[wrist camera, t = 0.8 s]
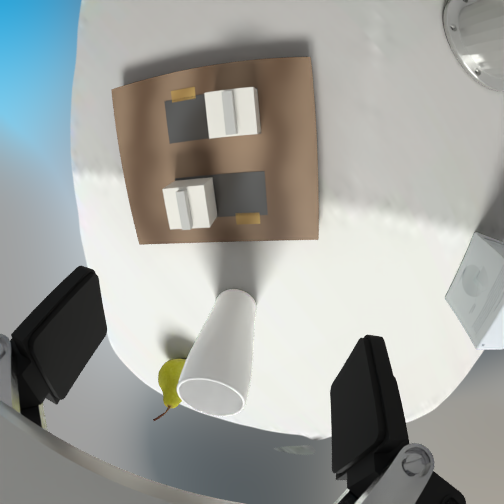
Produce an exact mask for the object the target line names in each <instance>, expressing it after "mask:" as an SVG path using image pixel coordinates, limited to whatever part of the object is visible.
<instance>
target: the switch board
mask: <svg viewBox="0 0 504 504" xmlns="http://www.w3.org/2000/svg"><path fill="white" fill-rule="evenodd" d="M246 87H254V88H256V89H257V93H258V104H259V115H260V126H261V132H260V133H258V134H253V135H240V136H229V137H220V138H211V139H209V132H208V123H207V114H206V104H205V95H204V93H206V92H213V91H220V90H228V89H236V88H246ZM112 99H113V108H114V116H115V123H116V131H117V137H118V144H119V150H120V156H121V162H122V168H123V173H124V178H125V183H126V188H127V193H128V198H129V203H130V207H131V212H132V216H133V220H134V224H135V229H136V233H137V237H138V241H139V244H168V243H199V242H234V241H273V240H318V235H319V203H318V158H317V135H316V117H315V102H314V89H313V77H312V66H311V57H287V58H269V59H257V60H247V61H238V62H230V63H223V64H216V65H210V66H204V67H198V68H193V69H188V70H183V71H178V72H173V73H169V74H165V75H161V76H157V77H153V78H149V79H145V80H142V81H138V82H134V83H131V84H128V85H124V86H121V87H118V88H115V89H112ZM210 177H212V178H213V186H214V194H215V201H216V209H217V218H216V219H215V221H214V222H213V224H212V225H211V227H210V228H191V230H182V229H170V227H169V222H168V217H167V211H166V206H165V201H164V195H163V190H162V189H163V188H165V187H166V186H168V185H169V184H171V183H172V182H174V181H179V180H189V179H199V178H210Z"/></svg>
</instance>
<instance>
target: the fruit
mask: <svg viewBox="0 0 504 504" xmlns="http://www.w3.org/2000/svg"><path fill="white" fill-rule="evenodd" d="M185 361H186V359H172V360H169V361H167V362H166V363H165V364H164V365H163V366H162V368H161V369H160V371H159V375H158V382H159V386H160V387H161V389H162V391H163V401H164V404H165V406H167V407H168V409H167V410H166V412H167V411H168V410H169V409H170V408H175V407H177V406H178V405H179V403H180V402H181V401H182V400H181V399H180V397H179V396H178V394H177V384H178V381H179V378H180V375H181V372H182V369H183V366H184V364H185ZM166 412H165V413H166ZM165 413H163V414H161V415H160V416H158V417H157V418H155V419H153V420H154V421H155V420H157V419H159V418H160V417H161V416H163V415H164V414H165Z"/></svg>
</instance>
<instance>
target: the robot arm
mask: <svg viewBox="0 0 504 504" xmlns="http://www.w3.org/2000/svg"><path fill="white" fill-rule="evenodd" d="M443 22H444V29H445V33H446V36H447V40H448V42H449V44H450V47H451V49H452V51H453V53H454V54H455V56H456V58H457V60H458V61H459V62H460V64H461V65H462V67H463V68H464V69H465V70H466V71H467V73H468V74H469V75H470V76H471V77H472V78H473V79H474V80H476V81H477V82H478V83H480V84H481V85H483V86H484V87H486V88H488V89H491V90H495V91H504V0H449V1H448V3H447V4H446V6H445V10H444V15H443ZM106 333H107V325H106V320H105V315H104V309H103V304H102V298H101V292H100V285H99V278H98V276H97V275H96V273H95V271H94V270H93V269H90V268H87V267H84V266H79V267H77V268H76V269H75V270H74V271H73V272H72V273H71V274H70V275H69V276H68V277H67V278H65V279H64V280H63V281H62V282H61V283H60V284H59V285H58V286H57V287H56V288H55V289H54V290H53V291H52V292H51V293H50V294H49V295H48V296H47V297H46V298H45V299H44V300H43V301H42V302H41V303H40V304H39V305H38V306H37V307H36V308H35V309H34V310H33V311H32V312H31V314H30V315H29V316H28V317H27V318H26V319H25V320H24V321H23V322H22V323H21V324H20V325H19V327H18V328H17V329H16V330H15V331H14V332H13V333H12V334H11V336H12V339H11V340H10V341H9V338H8V337H6V336H5V335H3V334H0V504H244V503H238V502H231V501H226V500H222V499H217V498H212V497H208V496H203V495H199V494H195V493H191V492H187V491H183V490H180V489H177V488H173V487H170V486H167V485H164V484H160V483H157V482H154V481H152V480H149V479H146V478H143V477H140V476H138V475H135V474H132V473H130V472H127V471H125V470H123V469H120V468H118V467H115V466H113V465H111V464H109V463H106V462H104V461H102V460H100V459H98V458H96V457H93V456H91V455H89V454H87V453H85V452H83V451H81V450H79V449H78V448H76V447H74V446H72V445H70V444H68V443H67V442H65V441H63V440H61V439H59V438H58V437H56V436H54V435H53V434H51V433H50V432H48V431H47V426H46V421H45V415H44V409H43V401H44V399H45V398H47V399H48V400H50V401H52V402H53V403H55V404H58V402H59V400H60V399H61V400H62V399H64V398H65V396H66V395H67V393H68V392H69V390H70V389H71V387H72V386H73V384H74V382H75V381H76V379H77V378H78V376H79V375H80V373H81V371H82V370H83V368H84V367H85V365H86V364H87V362H88V361H89V359H90V358H91V356H92V355H93V353H94V352H95V350H96V349H97V347H98V346H99V344H100V343H101V342H102V340H103V339H104V337H105V335H106ZM330 396H331V424H332V471H333V473H336V480H347V488H348V489H347V490H346V491H345V492H344V493H343V494H342V495H341V497H340V498H339V499H338V500H337V501H336V502H335V503H334V504H466V501H465V498H464V496H463V495H462V494H461V492H459V491H458V490H457V489H455V488H454V487H453V486H452V485H450V484H449V483H448V482H446V481H445V480H444V479H443V478H441V477H440V476H439V475H438V474H436V473H435V472H434V471H433V469H434V458H433V455H432V453H431V452H430V450H429V449H428V448H427V447H425V446H424V445H422V444H418V443H412V444H409V439H408V433H407V428H406V422H405V417H404V412H403V408H402V403H401V398H400V394H399V390H398V385H397V381H396V379H395V377H394V376H393V372H392V368H391V364H390V361H389V357H388V353H387V349H386V345H385V342H384V339H383V338H382V337H379V336H373V335H366V336H365V337H364V338H360V339H359V340H358V342H357V344H356V346H355V347H354V349H353V351H352V353H351V354H350V356H349V358H348V359H347V361H346V363H345V364H344V366H343V368H342V369H341V371H340V372H339V374H338V376H337V377H336V379H335V380H334V382H333V384H332V386H331V390H330Z"/></svg>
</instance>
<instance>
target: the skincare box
mask: <svg viewBox="0 0 504 504" xmlns="http://www.w3.org/2000/svg"><path fill="white" fill-rule="evenodd" d="M445 300H446V301H447V303H448V304H449V305H450V307H451V308H452V310H453V311H454V313H455V315H456V316H457V318H458V319H459V321H460V322H461V324H462V326H463V327H464V329H465V331H466V332H467V334H468V336H469V337H470V339H471V341H472V343H473V345H474V346H475V348H476V349H477V350H487V349H489V350H499V349H503V348H504V243H503V242H501V241H499V240H496V239H493V238H491V237H488V236H486V235H483V234H480V233H478V232H475V233H474V235H473V238H472V240H471V242H470V245H469V247H468V250H467V252H466V255H465V257H464V259H463V261H462V264H461V266H460V268H459V270H458V272H457V274H456V277H455V279H454V281H453V283H452V285H451V287H450V289H449V291H448V293H447V295H446V297H445Z"/></svg>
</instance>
